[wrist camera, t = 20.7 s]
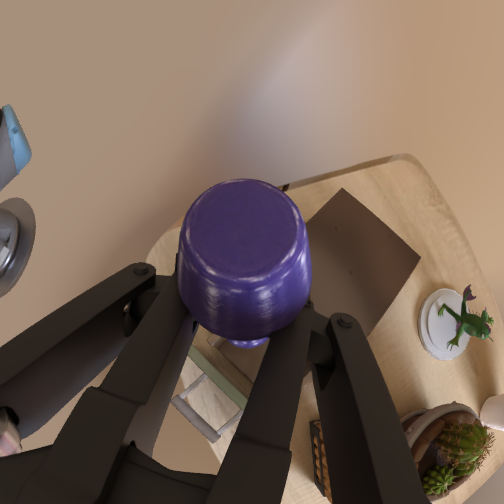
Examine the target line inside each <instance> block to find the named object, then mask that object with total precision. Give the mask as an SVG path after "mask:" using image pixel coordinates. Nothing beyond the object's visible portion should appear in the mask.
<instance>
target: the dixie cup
mask: <svg viewBox="0 0 504 504" xmlns="http://www.w3.org/2000/svg"><path fill="white" fill-rule="evenodd" d="M482 419H483V420H482ZM480 420H481V423H482V424H483V425H484V424H487V423H488V424H487V426H488V427H490V426H492V427H491V428H495V429H498V430H501V431H504V394H502V395H497V396H492V397H489V398H488V399H487V400H486V401H485V402H484V404H483V406H482V408H481V412H480ZM488 420H489V421H488ZM483 421H484V422H483Z"/></svg>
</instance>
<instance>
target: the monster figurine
mask: <svg viewBox="0 0 504 504" xmlns="http://www.w3.org/2000/svg"><path fill="white" fill-rule="evenodd" d="M470 286H471V284H470V285H469V286H467V287H466V289H465V290H464V293H463V298H462V296H461V295H460V294H458V293H457V292H455V291H454V290H451V289H446V288H444V289H439V290H437V291H435V292H433V293H431V294H430V295H429V296H428V297H427V298H426V299H425V301H424V302H423V304H422V307H421V309H420V313H419V318H418V331H419V336H420V340H421V342H422V345H423V346H424V348H425V350H426V351H427V352H428V353H429V354H430V355H431V356H432V357H434V358H435V359H438V360H451V359H454V358H456V357H458V356H459V355H460V354H461V353H462V352H463V351H464V350H465V348H466V347H467V344H468V342H469V339H470V336H476V337H477V338H479V339H480V340H481V339H483V340H484V339H486V338H487V337H488V336H489V335H490V333H491V329H490V328H489V326H488V324H487V322H488V323H490V324H491V325H492V321H493V322H494V320H493V318H492V317H491V318H489V315H488V314H487V312H486V307H485V310H484V311H483V312H482V315H481V318H480V317H479V316H477V315H475V314H470V310H469V308H468V306H467V304H466V301H467V300H473V299H475V298H476V296H475V297H474V296H472V294H471V290H470ZM473 313H474V312H473ZM476 313H477V312H476ZM479 315H480V314H479ZM491 319H492V320H491ZM489 338H490V337H489ZM490 339H491V338H490ZM491 340H492V339H491ZM492 342H493V341H492Z"/></svg>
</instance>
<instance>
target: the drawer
mask: <svg viewBox="0 0 504 504" xmlns="http://www.w3.org/2000/svg"><path fill="white" fill-rule="evenodd" d="M269 340H270V338H268V340H267V341H265V342H264V343H263V344H261V345H259V346H257V347H254V348H240V347H237V346H235V345H233V344H231V343H230V342H228V341H227V339H226V338H223V337H220V336H218V335H216V334H212V335H211V336H210V337H209V338H208V339H207V341H208V343H209V344H210V345H212V346H214V347H216V348H218V349H219V350H220V351H221V352H222V353H223V354H224V355H225V356H226V357H227V358H228V359H229V360H230V361H231V362H232V363H233V364H234V365H235V366H236V367H237V368H238V369H239V370H240V371H241V372H242V373H243V374H244V375H245V376H246V377H247V378H248V379H249V380H250V381H251V382H252V383H254V382H255V379H256V377H257V374H258V371H259V368H260V366H261V363H262V360H263V357H264V354H265V352H266V349H267V346H268V343H269ZM188 356H189V357H190V358H191V359H192V361H193V362H194V363H195V364H196V365H197V366H198V367H199V368H200V369H201V370H202V371H203V372H204V373H203V374H202V375H201V376H200V377H199V378H198V379H197V380H196V381H195V382H194V383H192V384H191V385H190V386H189V387H188V388H187V389H186V390H185V391H184V392H183V393H181V394H180V395H176V396H175V397H174V398H173V399H172V400H171V401H170V402H171V403H172V404H173V405H174V406H175V407H176V408H177V409H178V410H179V412H180V413H181V414H182V415H184V417H185V418H186V419H187V420H188V421H189V422H190V423H192V425H194V426H195V427H196V428H197V429H198V430H199V431H200V432H201V433H202V434H203V435H204V436H205V437H206V438H207V439H208V440H209V441H211V442H212V443H215V442H216V441H217V440H218V439H219V438H220V437H221V434H222V433H223V432H225V431H226V430H227V429H228V428H229V427H230V426H232V425H233V424H234V423H235V422H236V421H237V420H238V419H239V418H241V417H242V414H243V411H244V409H245V406H246V404H247V401H248V398H249V396H250V394H249V393H248V392H247V391H246V390H245V389H244V388H243V387H242V386H241V385H240V384H239V383H238V382H236V381H235V380H234V379H233V378H232V377H231V376H230V375H229V374H228V373H227V372H226V371H225V370H224V369H223V368H222V367H221V366H220V365H219V364H218V363H217V362H216V361H215V360H214V359H213V358H212V357H211V356H210V355H209V354H208V353H207V352H206V351H205V350H204V349H203V348H202V347H199V346H196V345H194V344H191V347H190V350H189V352H188ZM310 365H311V362H310V361H308V360H306V365H305V371H304V377H303V382H302V388H301V390H302V389H303V388H304V387H305V386H306V385H307V384H308V383H309V382H310V381H311V380H312V379H313V377H312V372H311V367H310ZM207 377H209V378H210V379H211V380H212V381H213V382H214V383H215V384H216V385H217V386H218V387H219V388H220V389H221V390H222V391H223V392H224V393H225V394H226V395H227V396H228V397H229V398H230V399H231V400H233V401H234V402H235V403H236V404H237V405H238V406H239V407H240V408H241V410H240V411H239V412H238V413H237V414H236V415H234V416H233V417H232V418H231V419H230V420H229V421H228V422H227V423H225V424H224V425H223V426H222V427H221V428H220V429H219V430H217V432H216V431H215V430H214V429H213V428H212V427H211V426H210V425H209V424H208V423H207V422H206V421H205V420H204V419H203V418H202V417H201V416H200V415H198V414H197V413H196V412H195V411H194V410H193V409H192V408H191V407H190V406H189V405H188V404H187V402H186V401H184V398H185V397H186V396H187V395H188V394H190V393H191V392H192V391H193V390H194V389H195V388H196V387H197V386H198V385H200V384H201V383H202V382H203V381H204V380H205V379H206V378H207Z"/></svg>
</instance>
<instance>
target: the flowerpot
mask: <svg viewBox="0 0 504 504" xmlns="http://www.w3.org/2000/svg"><path fill="white" fill-rule="evenodd" d="M479 417H480V416H479ZM399 419H400V422H401V424H402V427H403V430H404V433H405V435H406V438H407V441H408V444H409V447H410V450H411V453H412V456H413V459H414V462H415V465H416V468H417V471H418V474H419V477H420V480H421V484H422V487H423V490H424V493H425V495H426V496H427V497H428V499H429V500H430V502H431V503H432V502H434V501H437V500H439V499H441V498H443V497H446V496H447V495H449V493H450V492H451V491H452V490H454V489H456V488H457V487H459V486H460V485H461V484H463V483H464V482H465V481H466V480H467V479H468V478H469V477H470V476H471V475H472V474H473V473H474V472H475V470H476V467H477V466H478V467H477V469H479V466H480V464H482V462H483V461H482V462H481V463H480V462H479V461H481V459H483V458H484V457H483V456H486V454H485V453H486V451H487V453H488V454H489V453H490V452H489V451H492V450H487V448H490V447H491V446H490V445H489V444H490V442H491V441H492V440H491V438H490V437H491V436H490V437H488V436H489V435H490V433H489V435H487V430H486V429H488V428H489V427H488V426H487V424H488V423H487V424H484V426H485V427H483V426H482V423H481V420H479V418H478V416H477V414H476V413H475V412H474V411H473V410H472V409H471V408H470V407H468V406H466V405H464V404H460V403H456V401H453V402H452V403H451V404H444V405H441V406H438V407H435V408H433V409H431V410H429V409H425V408H423V409H421V410H417V411H413V412H411V413H408V414H406V415H404V416H402V417H401V418H399ZM482 420H483V419H482ZM488 421H489V420H488ZM483 422H484V421H483ZM490 427H492V426H490ZM489 429H490V428H489ZM494 433H495V432H494ZM491 434H493V433H492V432H491ZM492 438H494V436H493V437H492ZM490 440H491V441H490ZM489 441H490V442H489ZM493 441H494V440H493ZM493 441H492V442H493ZM492 442H491V443H492ZM486 446H488V447H486ZM489 446H490V447H489ZM492 446H493V445H492ZM484 451H485V453H484ZM483 454H484V455H483ZM481 456H482V458H481ZM489 456H490V455H489ZM485 458H487V457H485ZM483 460H484V459H483ZM481 466H482V465H481ZM479 471H480V469H479Z"/></svg>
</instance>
